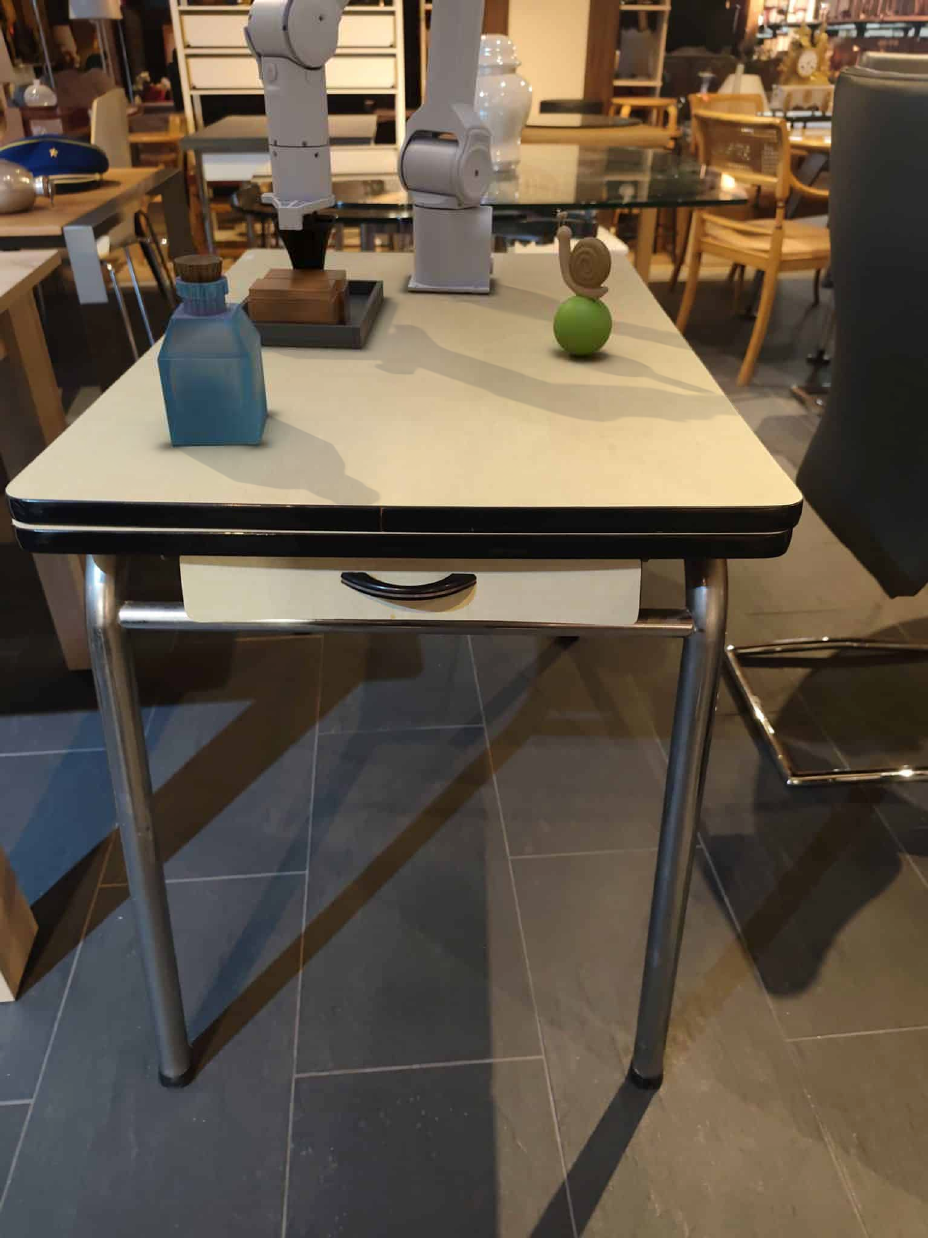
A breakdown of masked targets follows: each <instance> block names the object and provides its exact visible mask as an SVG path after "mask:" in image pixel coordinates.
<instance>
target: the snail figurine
mask: <svg viewBox="0 0 928 1238" xmlns="http://www.w3.org/2000/svg"><path fill="white" fill-rule="evenodd" d="M567 217H568V212H567V211H562V212H557V214H556V218H557V219H558V221H561V220H562V219H563V220H562V226H560V222H558V224H557V225H558V229H557V231H556V239H557V241H558V260H559V268H560V272H561V275H562V280H563V282H564V283H565V285H566V286H567V288H569V290H571V291H572V292H573V293H574V295H573V296H571V297H568V298H567V299H566V300H564V302H562V303H561V305H560V306H559V307H558V309H557V310H556V311H555V314H554V317H553V323H552V330H553V331H552V332H553V335H554V338H555V340H556V342H557V344H558V345H559V346H560V347H561V348H562V350H564V351H565V352H566V353H568V354H571V355H574V356H578V357H584V356H589V355H592V354H594V353H596V352H598V351H600V350H601V349H602V348H604V346H605V345H606V343H607V342H608V340H609V338H610V336H611V334H612V327H613V319H612V314H611V312H610V309H609V307H608V306H607V305H606V303H605V302H604V301H602V300H601V298H603V297H604V296H605V295H606V294H607V293H608V292H609V290H610V287H608V286H602V284H604V283H605V282H606V281H607V280H608V278H609V276H610V274H611V270H612V256H611V252H610V250H609V248H608V246H607V245H606V244H605V242H604V241H602V240H601V239H600V238H598V237H594V236H588V237H584V238H581V239H580V240H578V241H577V242H576V243H575V244H574V247H573V248H572V246H571V240H572V236H573V232H572V230H571V228H570V227H569V226H567V225H565V219H566V218H567Z"/></svg>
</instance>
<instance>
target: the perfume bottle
mask: <svg viewBox="0 0 928 1238" xmlns="http://www.w3.org/2000/svg"><path fill="white" fill-rule="evenodd" d="M223 260H224V259H223V257H222V256H219V255H215V254H188V255H183V256H179V257H176V258H175V259H174V263H175V267H176V270H177V272H178V276H177V277H175V279H174V281H175V288H176V295H177V296H179V297H180V298H182V302H181V303H180V304H179V306H177V308H176V310H175V311H174V312H173V314H172V315H171V317H170V318H169V319H170V320H169V322H168V326H167V328H166V331H165V334H164V337H163V340H162V343H161V346H160V350H159V352H158V354H157V359H156V362H157V368H158V374H159V379H160V384H161V385H160V386H161V391H162V397H163V402H164V403H163V404H164V409H165V414H166V420H167V426H168V432H169V438H170V443H171V446H174V447H175V446H181V447H182V446H243V445H244V446H245V445H246V446H248V445H249V446H250V445H251V446H253V445H257V446H259V445H260V444H261V440H262V438H263V437H262V436H263V433H264V430H265V426H266V423H267V419H268V415H269V411H268V401H267V393H266V392H267V391H266V382H265V373H264V363H263V353H262V345H261V343H260V334H259V332H258V331H257V329H256V328H255V326H254V325H253V323H252V322H251V320H250V319H249V318H248V316H247V315H246V313H245V312H244V310H243V309H242V307H241V306H240V302H227V301H226V295H228V294H229V292H230V291H229V283H228V276H226V275H225V274H223V273H222V272H223V262H224V261H223Z"/></svg>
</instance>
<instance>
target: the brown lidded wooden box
mask: <svg viewBox="0 0 928 1238" xmlns="http://www.w3.org/2000/svg"><path fill="white" fill-rule="evenodd" d="M262 279H305V280H335V281H336V290H338V291H339V309H340V325H346V324H347V321H348V319H349V316H350V300H349V281H348V280H346V279H347V270H346V269H324V270H323V269H293V268H275V267H274V268H269V270H268V271H267V273H265V275H264V276H263V277H262Z"/></svg>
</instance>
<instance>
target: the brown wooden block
mask: <svg viewBox="0 0 928 1238" xmlns="http://www.w3.org/2000/svg"><path fill="white" fill-rule="evenodd" d="M248 295H249V297H250V298H249V299H248V300H247V302H248V311H249V319H250V320H251V322H257V323H289V324H322V325H340V309H339V291H338V290H336V281H335V280H305V279H263V278H257V279H255V280H254V282H253V283H252V284H251V286H250V287H249V288H248Z"/></svg>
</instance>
